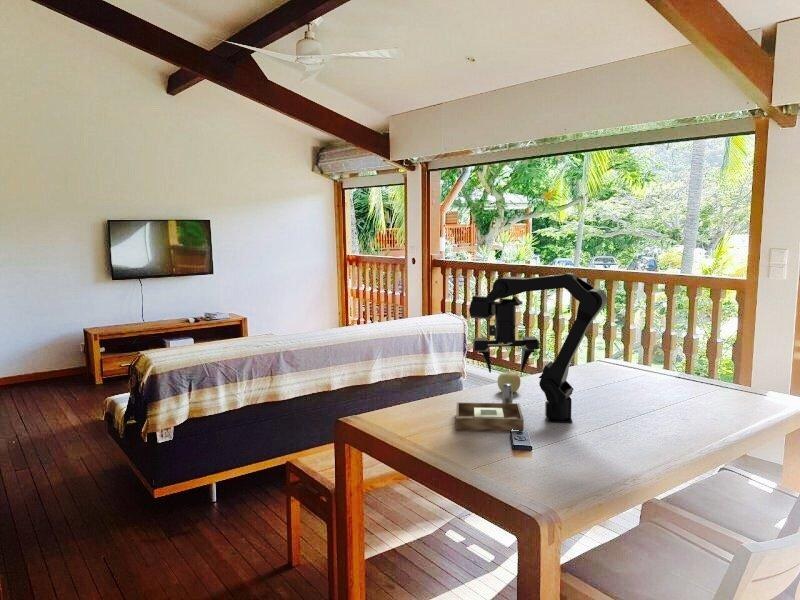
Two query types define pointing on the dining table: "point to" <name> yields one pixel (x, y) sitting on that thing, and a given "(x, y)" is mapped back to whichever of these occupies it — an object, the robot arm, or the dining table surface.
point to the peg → (507, 393)
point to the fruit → (509, 380)
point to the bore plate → (488, 413)
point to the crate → (506, 424)
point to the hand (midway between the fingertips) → (505, 372)
